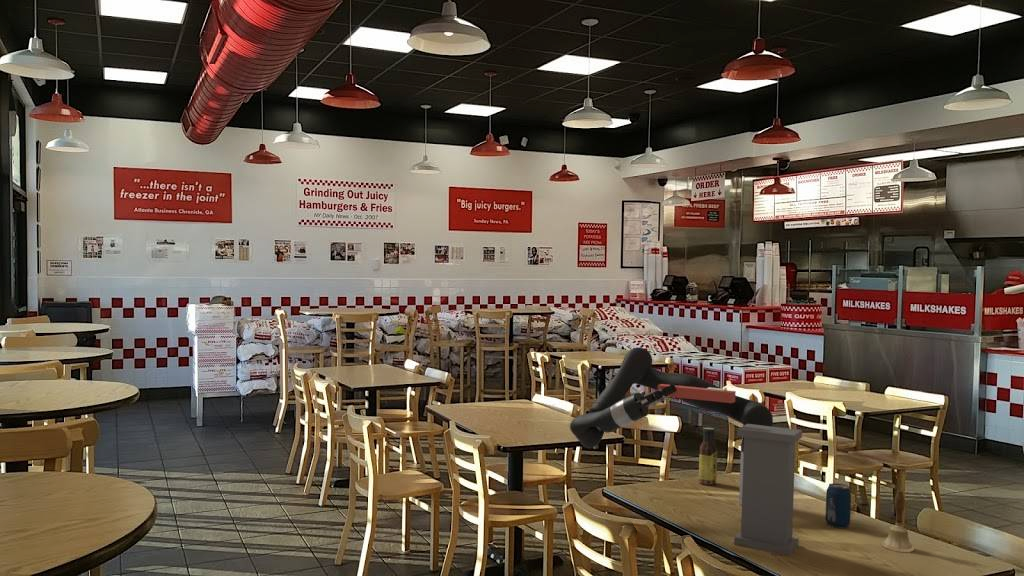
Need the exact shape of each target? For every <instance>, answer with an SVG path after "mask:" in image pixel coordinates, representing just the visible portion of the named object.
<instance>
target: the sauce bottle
mask: <svg viewBox="0 0 1024 576" xmlns="http://www.w3.org/2000/svg"><path fill="white" fill-rule="evenodd" d="M702 433H703V436H702V437H703V439H702V440H703V441H702V442H701V443H700V446H699V457H698V483H699V484H701V485H703V484H704V485H705V486H715V485H716V484H717V475H718V474H717V470H718V469H717V468H718V449H717V446H716V442H715V428H713V427H703V428H702ZM704 485H703V486H704Z"/></svg>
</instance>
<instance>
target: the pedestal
mask: <svg viewBox="0 0 1024 576" xmlns="http://www.w3.org/2000/svg"><path fill="white" fill-rule="evenodd" d="M737 437H742V438H743V437H744V456H743V487H742V505H741V518H740V519H741V525H740V531H739V532H738V533H737V534H736V535H735V536H734V539H733V540H734V541H733V543H734V545H735V544H736V546H740V545H743V546H742V547H745V546H747V547H746V548H750V547H751V549H755V548H756V549H757V550H760V549H761V550H762V551H767V552H770V553H776V554H782V555H787V556H791V555H792V554H793V553H794V551H796V549H797V548H798V546H799V539H800V538H799V537H795V536H793V528H794V527H793V523H794V497H795V496H794V494H795V462H796V459H795V458H796V442H798V441H799V440H801V439H802V438H803V430H802V429H798V428H797V429H796V428H795V429H794V428H787V427H779V426H773V427H771V426H762V425H754V424H746V425H744V426H743V425H742V426H741V427H738V428H737ZM756 549H755V550H756Z"/></svg>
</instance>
